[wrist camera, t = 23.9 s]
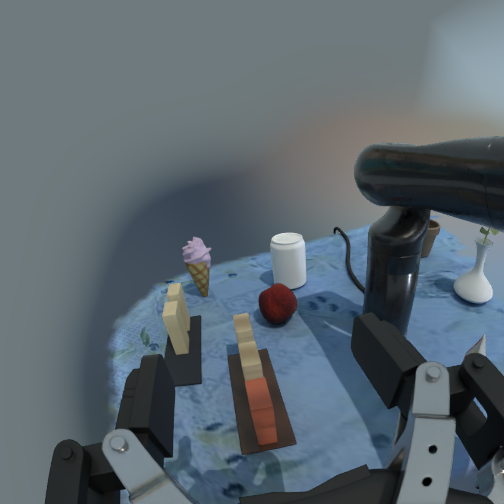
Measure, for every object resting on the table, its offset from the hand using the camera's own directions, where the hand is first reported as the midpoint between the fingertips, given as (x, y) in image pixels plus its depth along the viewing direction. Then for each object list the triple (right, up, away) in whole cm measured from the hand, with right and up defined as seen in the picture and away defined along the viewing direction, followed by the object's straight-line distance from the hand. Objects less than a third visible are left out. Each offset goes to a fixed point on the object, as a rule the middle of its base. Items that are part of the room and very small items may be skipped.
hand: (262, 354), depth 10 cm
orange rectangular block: (+1, -19, +20) cm, 28 cm away
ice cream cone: (-12, -7, +57) cm, 58 cm away
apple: (+5, -10, +44) cm, 45 cm away
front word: (0, -17, +26) cm, 32 cm away
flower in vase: (+53, -6, +37) cm, 65 cm away
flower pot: (+51, +4, +62) cm, 81 cm away
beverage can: (+9, -4, +57) cm, 58 cm away
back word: (-14, -14, +39) cm, 43 cm away
